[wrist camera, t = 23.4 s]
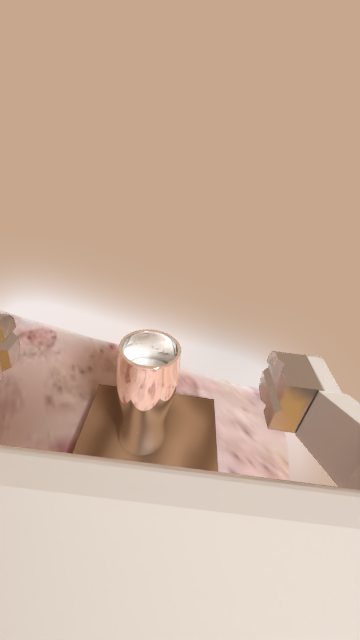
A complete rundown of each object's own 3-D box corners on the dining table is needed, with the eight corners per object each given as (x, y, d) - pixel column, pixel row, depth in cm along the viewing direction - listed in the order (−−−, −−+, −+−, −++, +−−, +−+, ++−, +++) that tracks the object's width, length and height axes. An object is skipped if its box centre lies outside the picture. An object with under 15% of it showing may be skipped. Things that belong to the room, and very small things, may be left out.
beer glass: (122, 410, 42) (125, 324, 34) (170, 417, 42) (184, 332, 34) (109, 455, 36) (108, 364, 28) (165, 463, 36) (181, 374, 28)
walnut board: (59, 496, 33) (58, 489, 32) (99, 391, 47) (99, 384, 46) (217, 515, 33) (220, 509, 33) (212, 405, 47) (213, 399, 46)
